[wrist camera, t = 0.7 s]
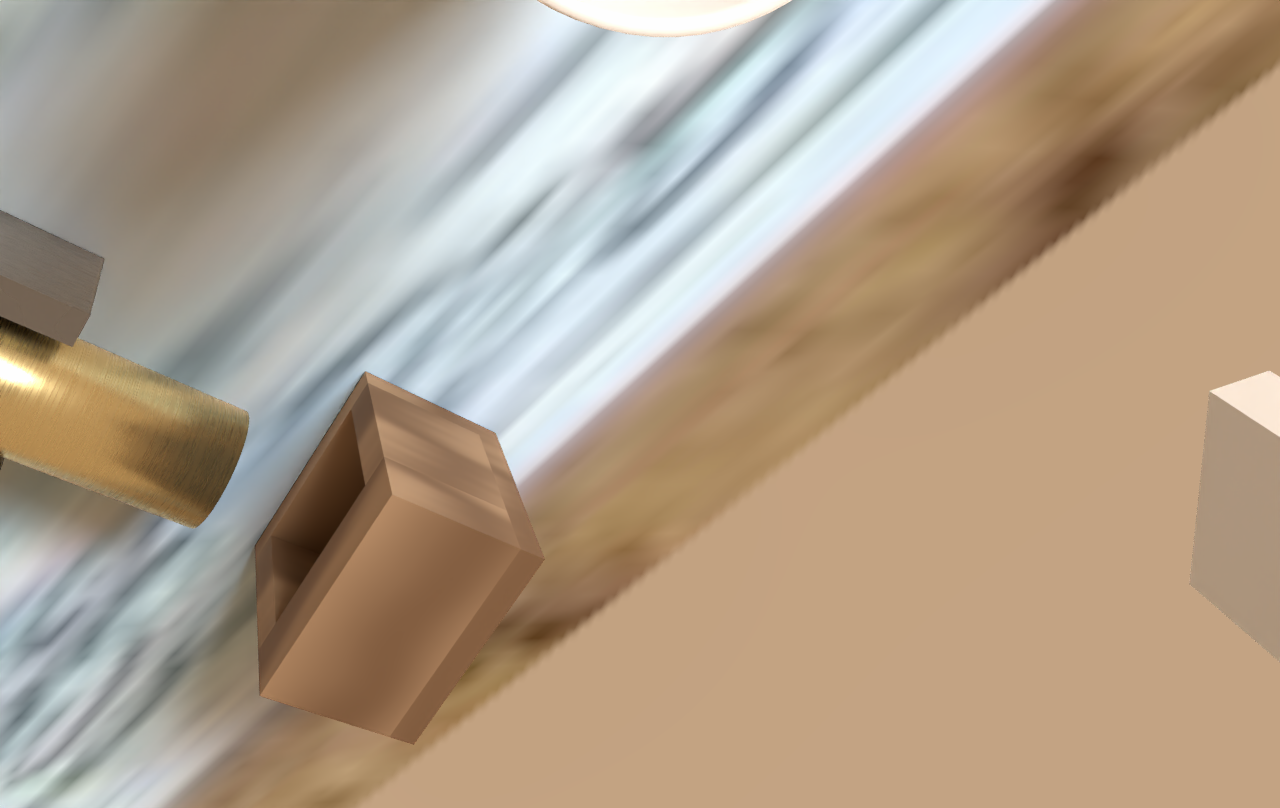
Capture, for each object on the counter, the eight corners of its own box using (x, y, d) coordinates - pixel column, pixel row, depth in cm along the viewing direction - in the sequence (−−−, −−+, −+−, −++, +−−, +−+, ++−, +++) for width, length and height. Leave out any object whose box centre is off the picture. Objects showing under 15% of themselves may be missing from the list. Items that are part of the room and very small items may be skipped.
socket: (255, 545, 39) (259, 695, 33) (365, 371, 38) (392, 494, 31) (386, 595, 42) (413, 744, 35) (495, 433, 40) (544, 558, 34)
